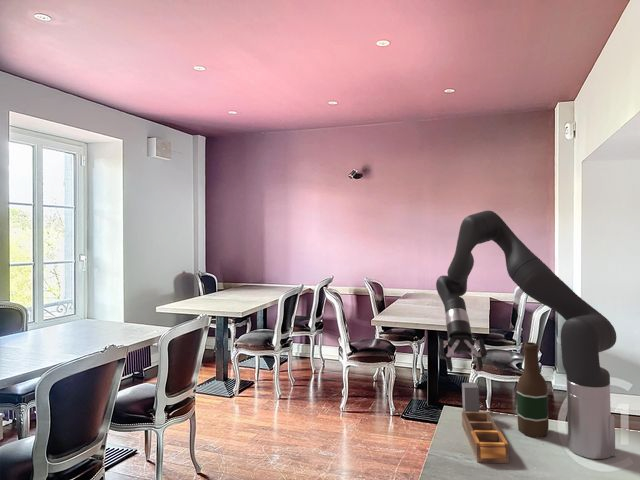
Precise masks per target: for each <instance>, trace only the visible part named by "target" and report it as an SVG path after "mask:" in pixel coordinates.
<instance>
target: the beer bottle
mask: <svg viewBox="0 0 640 480" xmlns="http://www.w3.org/2000/svg"><path fill="white" fill-rule="evenodd" d="M523 344H524V345H523V348H524V361H523V362H524V363H523V371H522V374H521V375H520V377H519V378H518V381H517V384H516V404H517V406H516V408H517V410H516V412H517V430H518V431H519V432H520V434H521V433H522V434H523V435H524V436H527V437H531V438H536V437H538V438H543V437H542V436H545V437H547V435H548V433H549V391H548V384H547V382H546V379H545V378H544V376H543V375H542V374H541V371H540V364H539V352H538V349H539V344H538V343H536V342H530V341H529V342H525V343H523Z"/></svg>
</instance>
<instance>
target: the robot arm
mask: <svg viewBox="0 0 640 480" xmlns="http://www.w3.org/2000/svg"><path fill="white" fill-rule="evenodd" d="M456 240H457V241H456V246H455V252H454V255H453V258H452V260H451V262H450V264H449V266H448V268H447V275H440V276H438V278H437V279H436V283H435V289H436V291H437V294H438V296H439V297H440V299H441V301H442V304H443V306H444V315H445V326H446V332H447V338H448V340H444V339H443V338H440V339H439V342H438V350H439V359H441V360H444V361H446V368H447V370H449V372H453V371H454V370H453V368H454V367H453V362H452V357H453V356H454V355H455V354H456V355H462V354H463V355H468V354H469V355H470V356H471V357H473V358H474V359H475V360H476V362H475V363H476V367H477V368H476V369H477V372H481V371H483V367H484V364H483V360H486V358H487V355H488V352H487V347H486V345H485V341H484V339H483V338H479V339H478V340H475V339H474V338H473V335H472V329H471V325H470V324H471V323H470V317H469V315H468V312H467V306H466V301H465V300H464V298H463V296H464V295H465V294H466V293H467V290H468V279H469V277H470V276H469V275H471V272H472V270H473V268H474V264H475V258H474V256H473V253H472V251H473V250H474V248H475V247H476V246H477V245H481V244H483V243H488V242H490V241H492V242H494V243H495V244H496V245H497V246H498V247H499V248H500V249H501V250H502V251H503V254H504V258H505V266H506V271H507V274H508V277H510V279H511V280H512V281H513V282H514V284H515V285H516V286H517V287H519V289H520V290H521V291H522V292H523V293H524V294H526V295H527V296H529V297H530V298H532V299H533V300H535V301H537V302H539V303H540V304H542V305H544V306H545V307H548V308H550V309H552V310H553V311H555V312H556V313H557V314H559V315H560V316H561V317H562V318H563V319H564V320H565V321H564V322H563V324H562V327H561V329H560V347H561V348H560V350H561V361H562V366H563V369H564V372H565V374H566V376H565V377H566V407H567V408H566V409H567V411H566V413H567V447H568V449H569V450H570V451H571V452H572V453H574V454H576V455H578V456H581V457H584V458H587V459H593V460H604V459H608V458H611V457H616V424H615V422H616V420H615V419H616V418H615V416H614V415H613V414H612V412H611V409H612V407H611V376H610V375H611V374H610V372H609V371H608V370H607V369H605V367H601V364H600V353H601V352H605V351H609V350H610V349H611V348H613V347H614V345H616V342H617V332H616V330H615V327H614V325H613V324H612V323H611V321H609V319H608V318H607V317H606V316H604V315H603V314H602V313H601V312H599V311H598V310H597V309H595V308H594V307H593V306H591V305H590V304H589V303H588V302H586V301H585V300H584V299H583V298H582V297H580V296H579V295H578V294H577V293H576V292H575V291H574V290H572V289H571V288H570V287H569V286H568V285H567V284H566V283H565V282H564V281H563V280H562V279H561V278H560V277H558V275H556V274H555V273H554V272H553V271H552V269H551V268H550V267H549V266H548V265H546V263H545V262H543V260H542V259H540V258H539V257H538V256H537V255H536V254H535V253H533V251H531V249H529V247H527V245H525V243H524V242H523V241H522V240H521V239H520V238H519V237H518V236H517V235H516V234H515V233H514V231H512V229H511V228H510V227H509V226H508V224H507V223H506V222H505V221H504V219H502V218H501V216H499V214H498V213H496V212H495V211H493V210H483V211H479V212H476V213H472V214H470V215H467V216H465V217H464V218H463V220H462V221H461V224H460V227H459V231H458V237H457V239H456ZM461 296H462V297H461ZM447 346H448V347H449V348H450V349H449V351H447V353H445V348H446V347H447ZM475 346H477V348H479V351H480V352H479V351H478V350H477V348H476V347H475Z"/></svg>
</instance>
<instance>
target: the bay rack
mask: <svg viewBox="0 0 640 480" xmlns="http://www.w3.org/2000/svg"><path fill="white" fill-rule="evenodd" d="M461 424H462V428H463V431H464V434H465V436H466V438H467V440H468V443H469V446H470V447H471V450H472V453H473V456H474V458H475V460H476V463H489V464H490V463H491V464H492V463H495V464H496V463H499V464H501V463H503V464H505V463H506V464H509V463H510V461H509V457H510V456H509V443H508V441H507V440H506V438H505V437H504V434H503V433H502V432H501V431H500V430H499V428H498V425H496V423H495V421H494V419H493V418H492V416H491V414H490V413H489V411H479V412H463V411H462V412H461Z"/></svg>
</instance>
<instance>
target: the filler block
mask: <svg viewBox="0 0 640 480" xmlns="http://www.w3.org/2000/svg"><path fill="white" fill-rule="evenodd" d="M479 389H480V388H479V386H478V384H477V383H476V382H462V383H461V392H462V393H461V394H462V395H461V397H462V400H461V401H462V412H480V390H479Z"/></svg>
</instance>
